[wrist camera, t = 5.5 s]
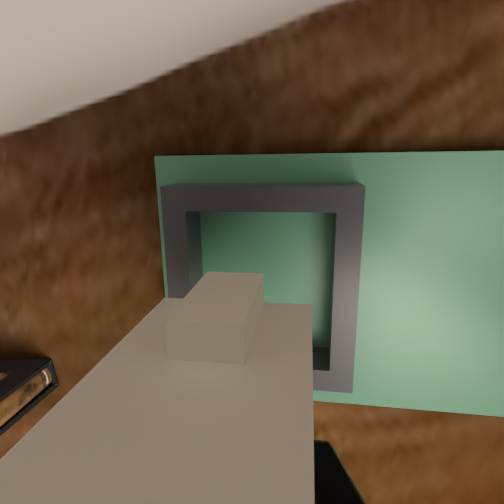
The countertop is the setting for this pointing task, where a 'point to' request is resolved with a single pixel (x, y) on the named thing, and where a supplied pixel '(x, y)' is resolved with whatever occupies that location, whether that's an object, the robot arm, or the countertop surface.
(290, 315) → the plug
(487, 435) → the countertop surface
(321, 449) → the robot arm
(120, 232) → the countertop surface
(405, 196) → the board
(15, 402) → the ammunition clip
